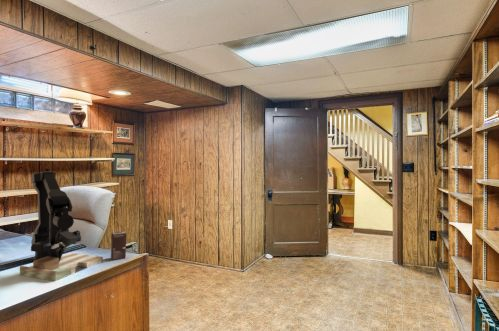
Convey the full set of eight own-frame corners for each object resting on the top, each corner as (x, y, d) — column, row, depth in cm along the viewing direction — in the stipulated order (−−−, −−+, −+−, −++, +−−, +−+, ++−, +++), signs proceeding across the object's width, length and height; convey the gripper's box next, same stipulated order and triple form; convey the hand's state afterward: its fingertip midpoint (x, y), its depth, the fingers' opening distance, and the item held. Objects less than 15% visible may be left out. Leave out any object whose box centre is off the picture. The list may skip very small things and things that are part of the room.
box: (112, 260, 138) (112, 234, 138) (110, 257, 142) (111, 232, 142) (126, 258, 142) (126, 232, 142) (124, 255, 146) (124, 231, 145)
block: (33, 271, 118) (33, 260, 118) (47, 266, 124) (47, 256, 124) (44, 272, 117) (45, 262, 117) (58, 267, 122) (58, 257, 122)
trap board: (19, 275, 119) (19, 266, 119) (71, 256, 142) (71, 249, 142) (55, 281, 114) (55, 271, 114) (102, 261, 137) (102, 253, 137)
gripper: (52, 232, 113) (52, 273, 114) (91, 222, 131) (90, 258, 132) (30, 229, 117) (29, 269, 117) (70, 220, 134) (70, 255, 135)
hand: (57, 263), depth 125 cm, fingers closed
